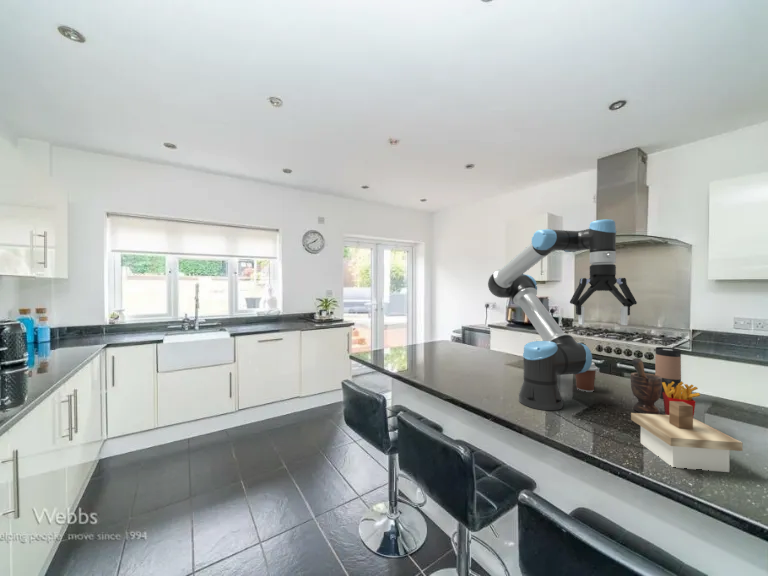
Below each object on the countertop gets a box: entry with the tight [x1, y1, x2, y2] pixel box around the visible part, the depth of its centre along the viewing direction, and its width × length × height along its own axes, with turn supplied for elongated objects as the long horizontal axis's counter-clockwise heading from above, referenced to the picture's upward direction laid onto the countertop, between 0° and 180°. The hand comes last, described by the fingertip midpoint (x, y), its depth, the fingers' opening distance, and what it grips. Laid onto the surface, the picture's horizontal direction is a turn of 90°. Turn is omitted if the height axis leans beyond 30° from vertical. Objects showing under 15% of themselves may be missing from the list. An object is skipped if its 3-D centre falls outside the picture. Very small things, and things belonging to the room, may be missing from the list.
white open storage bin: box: [640, 426, 730, 473], centre depth 81 cm, size 12×12×6 cm
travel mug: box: [654, 346, 682, 400], centre depth 123 cm, size 8×8×20 cm
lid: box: [630, 401, 744, 452], centre depth 81 cm, size 15×15×8 cm
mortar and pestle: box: [629, 357, 662, 415], centre depth 109 cm, size 12×9×20 cm
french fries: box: [662, 380, 701, 418], centre depth 96 cm, size 9×8×15 cm
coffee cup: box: [574, 361, 598, 393], centre depth 134 cm, size 9×9×12 cm
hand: (602, 324), depth 107 cm, fingers open, 13 cm apart
